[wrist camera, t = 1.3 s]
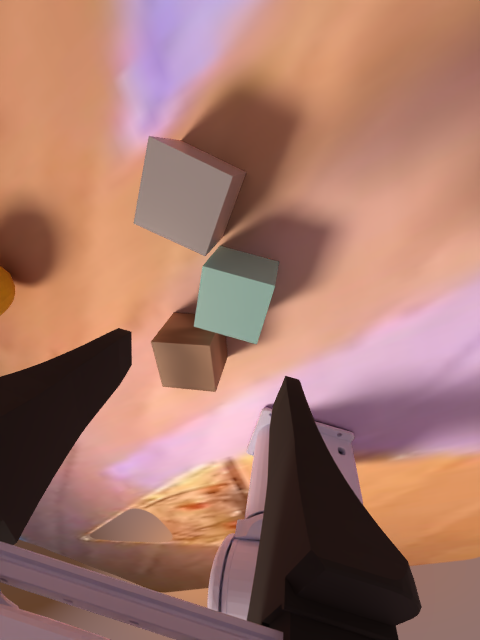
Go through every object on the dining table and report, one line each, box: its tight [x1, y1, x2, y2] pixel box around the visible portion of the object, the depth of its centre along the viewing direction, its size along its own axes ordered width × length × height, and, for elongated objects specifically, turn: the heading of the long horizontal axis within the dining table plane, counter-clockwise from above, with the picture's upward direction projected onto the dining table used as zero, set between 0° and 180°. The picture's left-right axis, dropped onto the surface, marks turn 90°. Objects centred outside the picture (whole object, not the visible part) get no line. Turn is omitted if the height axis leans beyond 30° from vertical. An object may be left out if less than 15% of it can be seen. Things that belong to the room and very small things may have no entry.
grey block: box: [134, 136, 246, 256], centre depth 17 cm, size 4×4×4 cm
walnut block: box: [151, 313, 227, 392], centre depth 23 cm, size 4×4×4 cm
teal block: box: [194, 246, 279, 344], centre depth 19 cm, size 4×4×4 cm
